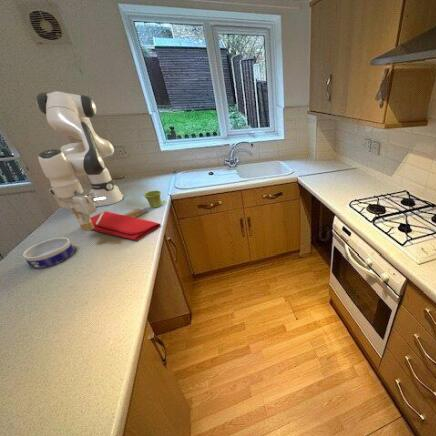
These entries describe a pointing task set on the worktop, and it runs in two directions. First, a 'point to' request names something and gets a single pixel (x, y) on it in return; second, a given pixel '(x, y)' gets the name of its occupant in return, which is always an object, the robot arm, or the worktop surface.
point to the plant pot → (153, 198)
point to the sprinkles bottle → (82, 220)
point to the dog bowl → (49, 253)
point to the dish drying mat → (122, 225)
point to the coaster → (135, 213)
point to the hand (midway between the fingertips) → (83, 218)
